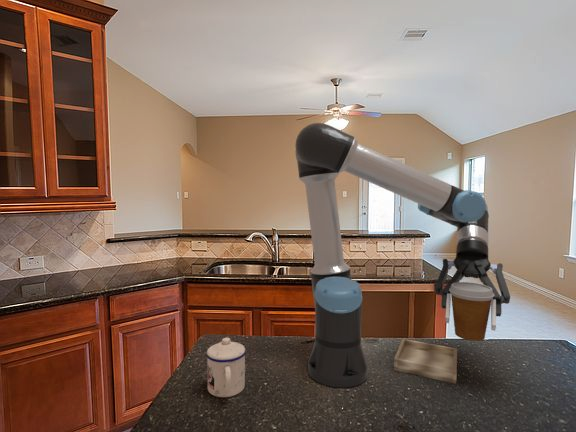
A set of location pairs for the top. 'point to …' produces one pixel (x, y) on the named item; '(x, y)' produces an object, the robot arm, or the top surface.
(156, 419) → the top surface
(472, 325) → the disposable coffee cup
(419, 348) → the birch tray
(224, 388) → the teacup with lid
